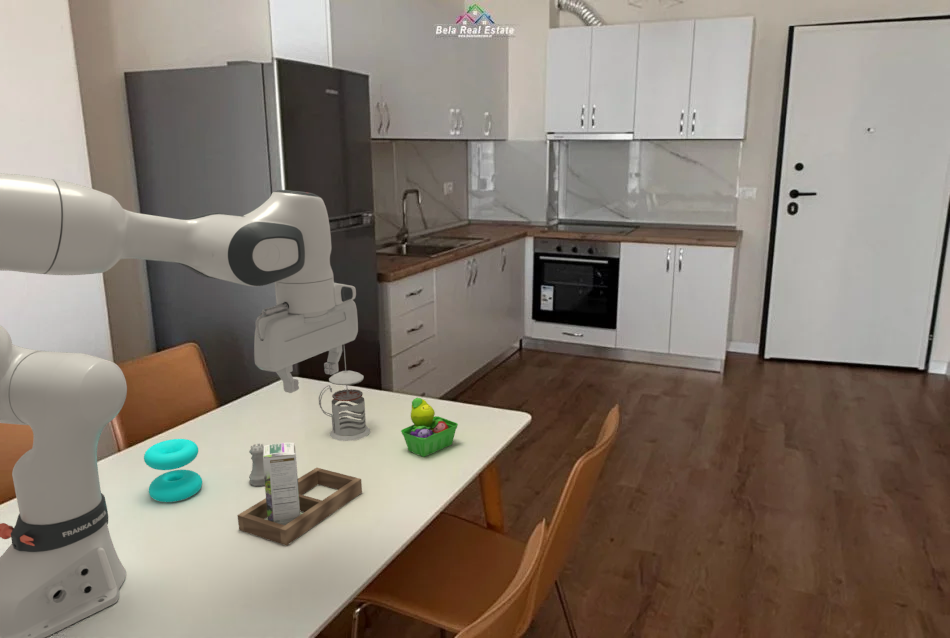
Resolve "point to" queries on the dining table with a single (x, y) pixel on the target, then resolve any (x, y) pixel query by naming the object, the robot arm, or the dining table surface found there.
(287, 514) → the syrup box
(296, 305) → the robot arm
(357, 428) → the french press
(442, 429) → the fruit basket
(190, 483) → the donuts
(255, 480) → the rook chess piece
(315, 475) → the wooden divided tray
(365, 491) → the dining table surface
